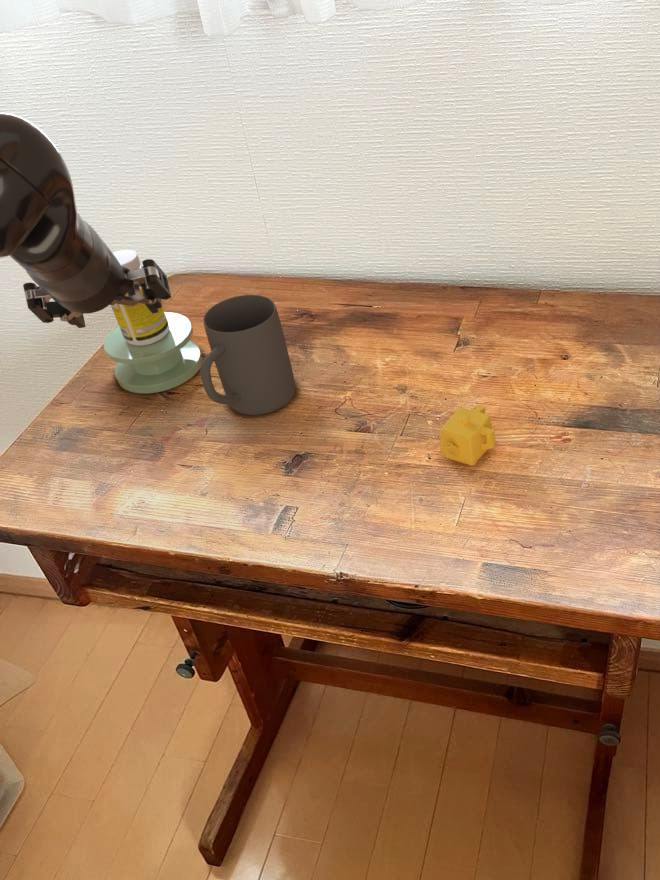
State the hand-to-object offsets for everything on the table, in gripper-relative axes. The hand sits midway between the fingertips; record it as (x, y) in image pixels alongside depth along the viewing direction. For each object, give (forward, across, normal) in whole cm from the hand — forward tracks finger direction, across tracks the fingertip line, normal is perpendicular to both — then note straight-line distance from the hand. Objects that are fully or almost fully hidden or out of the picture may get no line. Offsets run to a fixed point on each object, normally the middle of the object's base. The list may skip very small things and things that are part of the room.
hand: (117, 312), depth 97 cm
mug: (+10, -12, +12) cm, 20 cm away
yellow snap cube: (-4, -36, +26) cm, 45 cm away
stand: (+19, 0, +2) cm, 20 cm away
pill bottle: (+16, 0, -1) cm, 16 cm away
